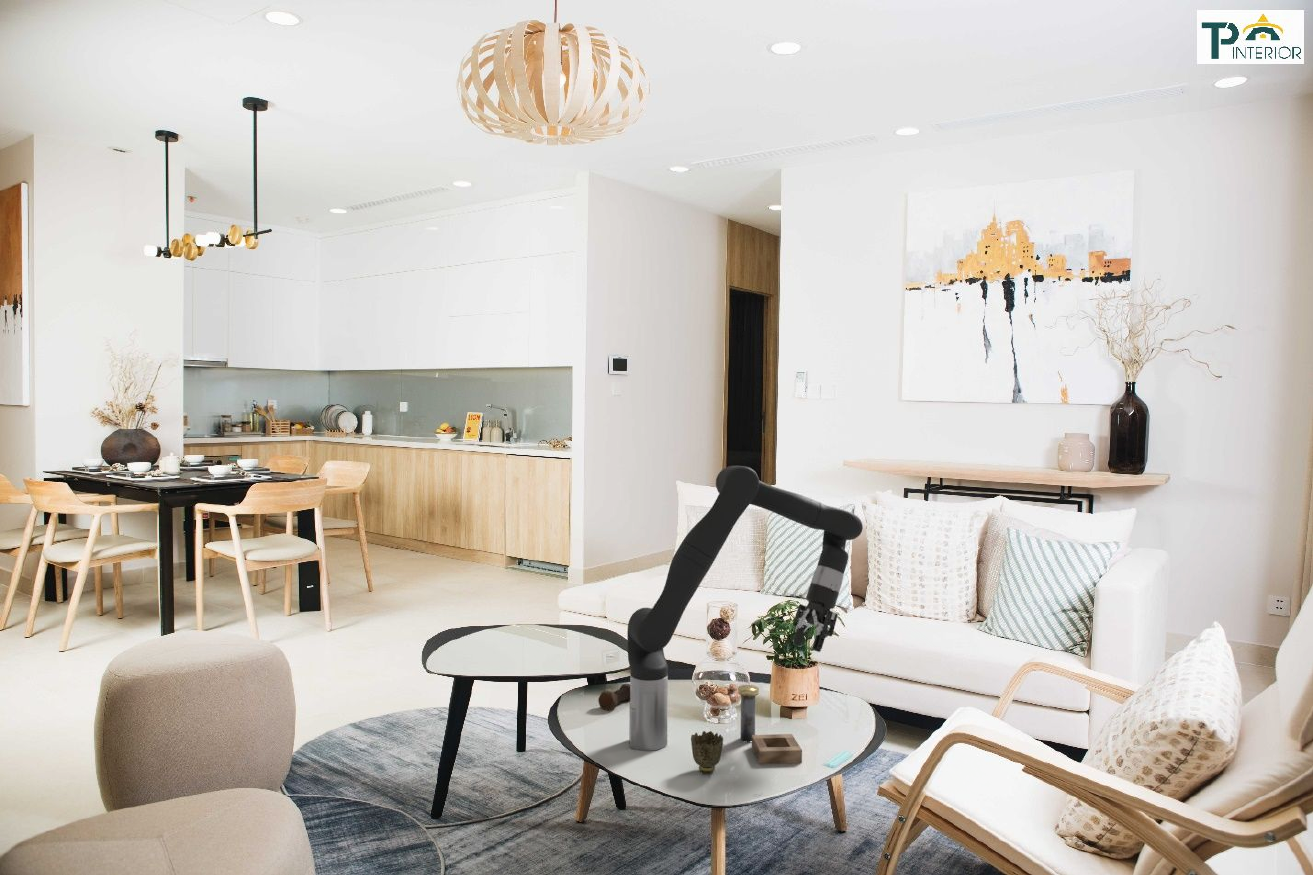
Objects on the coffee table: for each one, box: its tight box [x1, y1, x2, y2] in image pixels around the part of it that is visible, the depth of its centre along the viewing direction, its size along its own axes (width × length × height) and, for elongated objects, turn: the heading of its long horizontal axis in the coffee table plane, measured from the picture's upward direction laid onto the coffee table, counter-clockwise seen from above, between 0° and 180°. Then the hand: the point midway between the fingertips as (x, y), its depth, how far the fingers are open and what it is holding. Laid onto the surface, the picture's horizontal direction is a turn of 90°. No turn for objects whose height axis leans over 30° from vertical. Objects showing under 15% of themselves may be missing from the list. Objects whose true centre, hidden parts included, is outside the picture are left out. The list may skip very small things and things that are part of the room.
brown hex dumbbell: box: [598, 683, 630, 712], centre depth 248 cm, size 6×5×15 cm
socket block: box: [751, 733, 803, 765], centre depth 212 cm, size 10×10×3 cm
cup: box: [690, 730, 724, 774], centre depth 202 cm, size 8×7×8 cm
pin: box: [737, 684, 760, 743], centre depth 221 cm, size 5×5×13 cm
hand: (806, 647), depth 223 cm, fingers open, 8 cm apart
